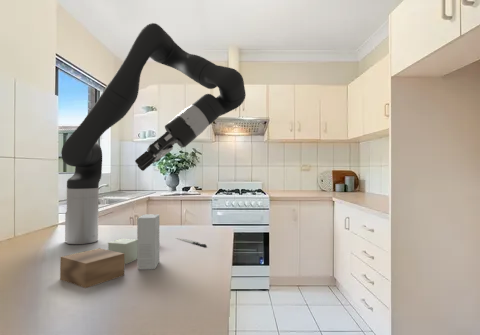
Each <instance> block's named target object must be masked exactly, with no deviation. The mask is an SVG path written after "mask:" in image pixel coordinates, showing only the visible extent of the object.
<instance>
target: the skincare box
mask: <svg viewBox="0 0 480 335" xmlns="http://www.w3.org/2000/svg"><path fill="white" fill-rule="evenodd" d="M136 221H137V222H136V223H137V226H136V227H137V229H136V232H137V233H136V236H137V238H136V240H137V259H136V260H137V261H136V263H137V264H136V266H137V270H138V271H139V270H155V269H156V268H157V266H158V265H159V263H160V214H158V213H157V214H142V215H141V216H139V217H137V220H136Z"/></svg>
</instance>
